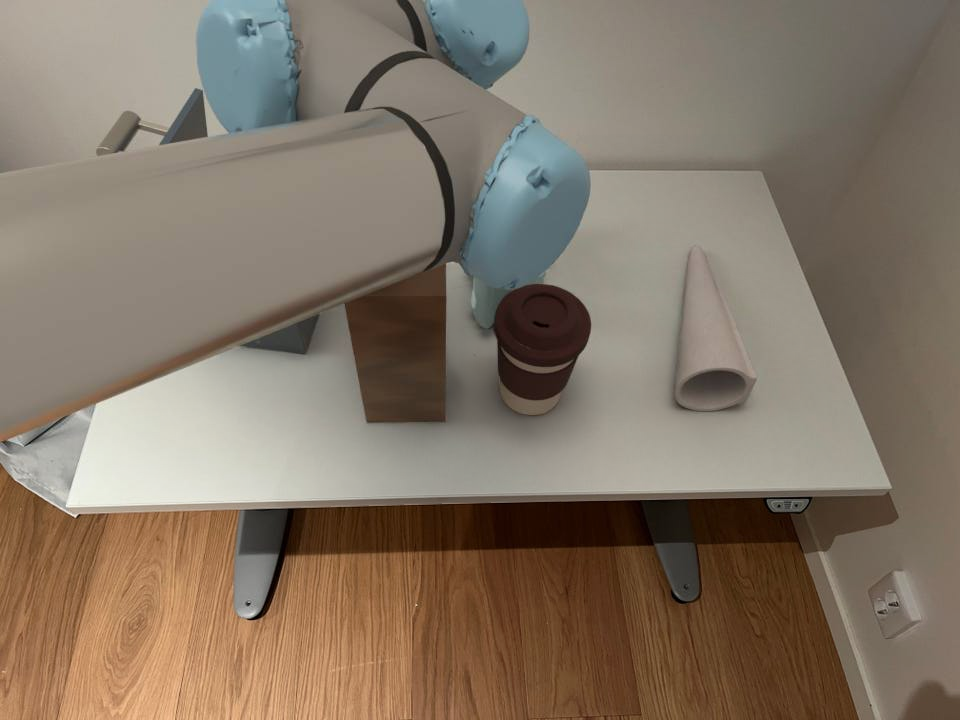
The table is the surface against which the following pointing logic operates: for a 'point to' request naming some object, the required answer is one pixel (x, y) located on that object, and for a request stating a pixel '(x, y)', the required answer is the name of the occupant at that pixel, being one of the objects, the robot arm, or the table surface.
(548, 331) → the coffee cup
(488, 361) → the table surface
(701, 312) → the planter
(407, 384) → the stand
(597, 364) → the table surface
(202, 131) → the box lid
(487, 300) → the squiggly pen holder
